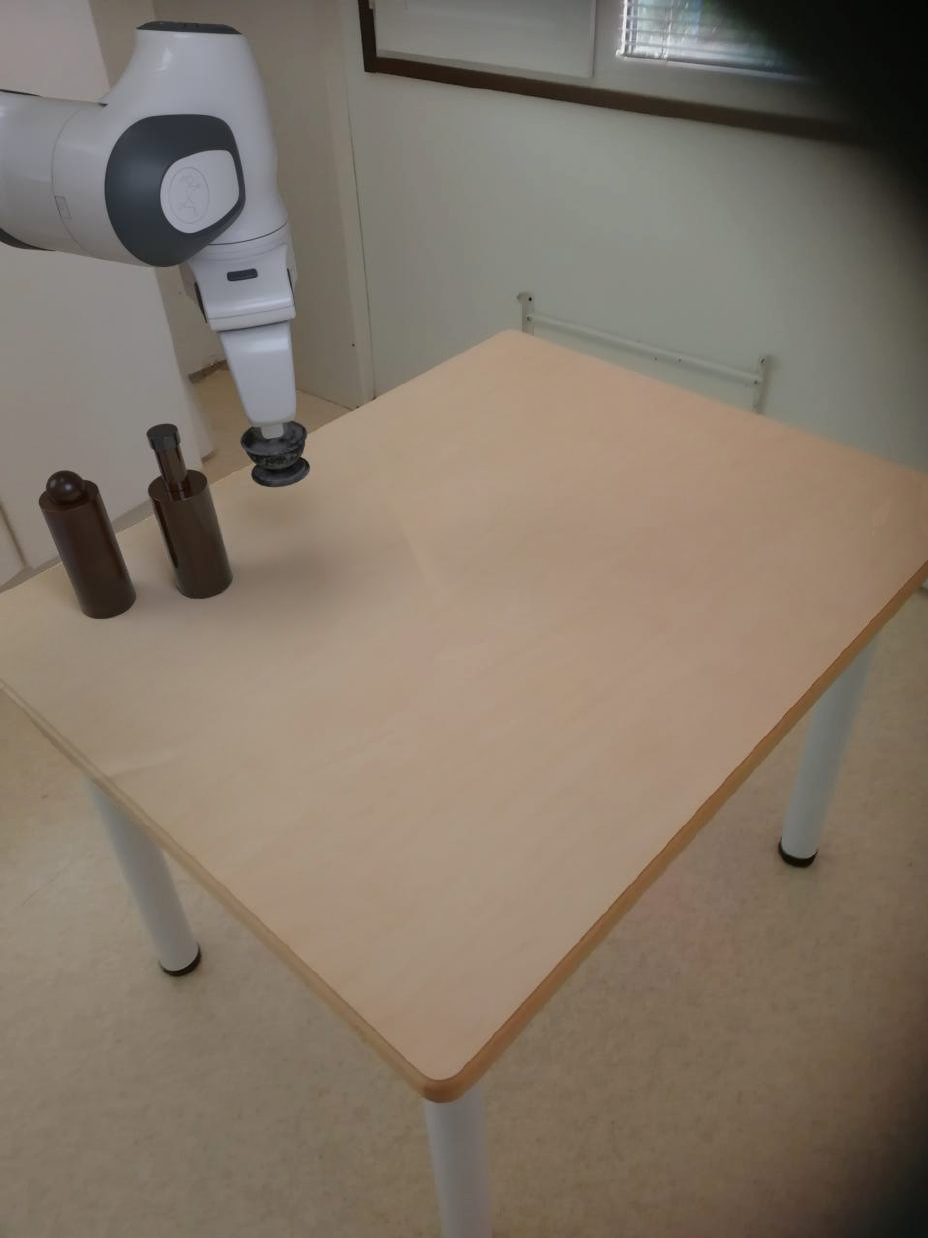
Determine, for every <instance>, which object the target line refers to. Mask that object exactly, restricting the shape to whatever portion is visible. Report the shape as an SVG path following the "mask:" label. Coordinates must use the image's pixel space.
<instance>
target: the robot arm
mask: <svg viewBox="0 0 928 1238" xmlns="http://www.w3.org/2000/svg"><path fill="white" fill-rule="evenodd" d="M132 48H133V51H132V53H131V55H130V58H129V61H128V63H127V65H126V67H125V68H124V70H123V72H122V73H121V75H120V77H119V78H118V79H117V81H116V82H115V83H114V84H113V86H112V87H111V88H110V89H109V90H108V91H107V92H106V93H105V94H104V95H102V96H101V97H99V98H98V99H97V102H96V101H89V100H88V101H87V100H78V99H68V98H59V97H58V98H57V97H49V96H42V95H39V94H36V93H35V94H34V93H30V92H23V91H17V90H12V89H4V88H0V243H3V244H5V245H7V246H9V247H12V248H16V249H21V250H29V251H30V250H31V251H41V252H42V251H44V252H58V253H64V254H70V255H75V256H81V257H85V258H92V259H97V260H102V261H107V262H115V263H119V264H126V265H131V266H138V267H145V268H170V267H174V266H178V270H179V274H180V278H181V283H182V287H183V291H184V293H185V295H186V296H187V297H188V298H189V299H191V300H192V301H193V303H194V304H195V305H196V306H197V308H198V309H199V310H200V312H201V314H202V316H203V318H204V321H205V324H207V328H208V330H209V331H210V332H212V333H213V332H215V335H216V336H217V339H218V341H219V344H220V347H221V350H222V352H223V355H224V358H225V361H226V364H227V367H228V370H229V373H230V375H231V378H232V382H233V385H234V387H235V390H236V393H237V397H238V399H239V402H240V404H241V407H242V410H243V412H244V415H245V417H246V419H247V422H248V424H249V425H251V427H252V426H253V427H261V431H262V435H263V437H264V438H266V439H270V438H276V437H280V436H282V435H283V432H284V431H283V425H282V423H286V422H290V421H294V420H295V418H296V414H297V388H296V376H295V364H294V363H295V362H294V352H293V350H294V349H293V341H292V331H291V324H290V323H291V322H290V320H294V319H295V318H296V317H297V311H296V302H295V301H296V300H295V295H294V292H295V288H296V283H297V282H298V277H299V276H298V270H297V264H296V263H297V262H296V257H295V251H294V245H293V240H292V233H291V227H290V220H289V215H288V210H287V208H286V205H285V203H284V201H283V199H282V196H281V193H280V190H279V187H278V186H279V185H278V175H277V173H278V164H279V154H278V146H277V142H276V141H277V140H276V135H275V130H274V124H273V118H272V114H271V113H272V112H271V109H270V104H269V99H268V96H267V91H266V86H265V83H264V79H263V76H262V72H261V70H260V67H259V63H258V60H257V57H256V55H255V53H254V50H253V48H252V47H251V44H250V42H249V40H248V38H247V36H245V34H243V33H242V32H240V31H238V29H236V28H235V27H232V26H230V25H228V24H227V25H226V24H224V23H223V24H221V23H206V22H205V23H203V22H186V21H185V22H184V21H169V20H168V21H166V20H154V21H148V22H146V23H143V24H142V25H139V26H137V27H136V28H135V29H134V30H133V37H132Z"/></svg>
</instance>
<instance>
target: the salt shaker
mask: <svg viewBox="0 0 928 1238" xmlns="http://www.w3.org/2000/svg"><path fill="white" fill-rule="evenodd" d="M282 425H283V431H284V432H283V435H282V436H280V437H276V438H270V439H266V438H264V437H263V435H262V431H261V427H253V426H252V425H251V426H250V427H249V428H248V429H246V430H245V431H244V432H243V434H242V435H241V437H240V441H239V443H240V446H241V448H242V449H243V450H244V451H245V452H246V455H247V456H248V457H249V459H250V460H251V461H252V462H253V463H254V464H255V465H254V466H253V468H252V469H251V473H250V476H251V478H252V481H254V482H255V484H257V485H259V486H261V487H262V486H263V487H265V488H284V487H288V486H292V485H294V484H297V483H298V482H300V481H302V480H304V479H305V478H306V477H307V476H308V475H309V473H310V471H311V464H310V463H309V461H308V460H307V459H306V458H305V457H302V455H303V454H304V451H305V447H306V440H307V438H308V430H307V428H306V427H305V426H304V425H303V424H302V423H300V422H298V421H295V420H292V421H290V422H286V423H282Z"/></svg>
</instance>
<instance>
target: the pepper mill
mask: <svg viewBox="0 0 928 1238" xmlns="http://www.w3.org/2000/svg"><path fill="white" fill-rule="evenodd" d="M38 506H39V509H40V510H41V513H42V515H43V519H44V520H45V523H46V525H47V527H48V530H49V533H50V535H51V538H52V540H53V542H54V545H55V548H56V550H57V552H58V554H59V557H60V560H61V562H62V565H63V567H64V569H65V572H66V574H67V576H68V579H69V582H70V584H71V587H72V588H73V591H74V594H75V596H76V598H77V601H78V603H79V606H80V608H81V611H82V612H83V614H84V615H85V616H87V617H89V618H92V619H98V620H104V619H110V618H114V617H117V616H120V615H122V614H124V613H125V612H127V611H128V610H130V608H131V607H132V606H133V605H134V603H135V602H136V599H137V593H136V590H135V587H134V585H133V582H132V581H133V580H132V578H131V576H130V573H129V570H128V567H127V565H126V561H125V559H124V556H123V554H122V551H121V547H120V545H119V542H118V540H117V536H116V534H115V532H114V528H113V525H112V522H111V520H110V517H109V513H108V512H107V509H106V506H105V502H104V500H103V497H102V494H101V492H100V488H99V486H98V485H97V484H96V483H95V482H93V481H91V480H89V479H83V477H82V476H81V475H79V474H78V473H77V472H75V471H72V470H67V469H66V470H65V469H62V470H58V471H56V472H54V473H52V474H51V475H50V476H49V477H48V479H47V481H46V484H45V490H44V491H43V492H42V493H41V494H40V496H39V498H38Z"/></svg>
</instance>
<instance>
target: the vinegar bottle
mask: <svg viewBox="0 0 928 1238" xmlns="http://www.w3.org/2000/svg"><path fill="white" fill-rule="evenodd" d="M145 434H146V438H147V441H148V445H149V447H150V449H151V450H152V451H153V453H154V456H155V459H156V463H157V467H158V470H159V473H160V475H159V476H157V477H156V478H154V479H153V480H152V481H151V482H150V483H149V485H148V487H147V494H148V498H149V501H150V504H151V507H152V510H153V514H154V516H155V519H156V523H157V526H158V529H159V532H160V536H161V538H162V541H163V545H164V548H165V551H166V554H167V558H168V560H169V564H170V567H171V570H172V573H173V576H174V579H175V582H176V583H175V584H176V586H177V589H178V591H179V592H180V593H181V594H182V595H183V596H184V597H186V598H189V599H194V600H195V599H196V600H202V599H208V598H212V597H215V596H218V595H219V594H222V593H223V592H225V591H226V590H227V589H228V588H229V587H230V585H232V582H233V578H234V576H233V571H232V568H231V564H230V560H229V556H228V553H227V549H226V545H225V542H224V538H223V533H222V530H221V527H220V522H219V519H218V515H217V511H216V507H215V504H214V499H213V496H212V492H211V488H210V486H209V480H208V478H207V475H206V474H204V473H203V472H201V471H198V470H196V469H188V468H187V466H186V462H185V459H184V455H183V452H182V449H181V445H180V444H181V441H182V439H181V436H180V433H179V428H178V426H176V425H175V424H173V423H159V424H156V425H153V426H151V427H150V428H149V429H148V430H147V431H146V433H145Z"/></svg>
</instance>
